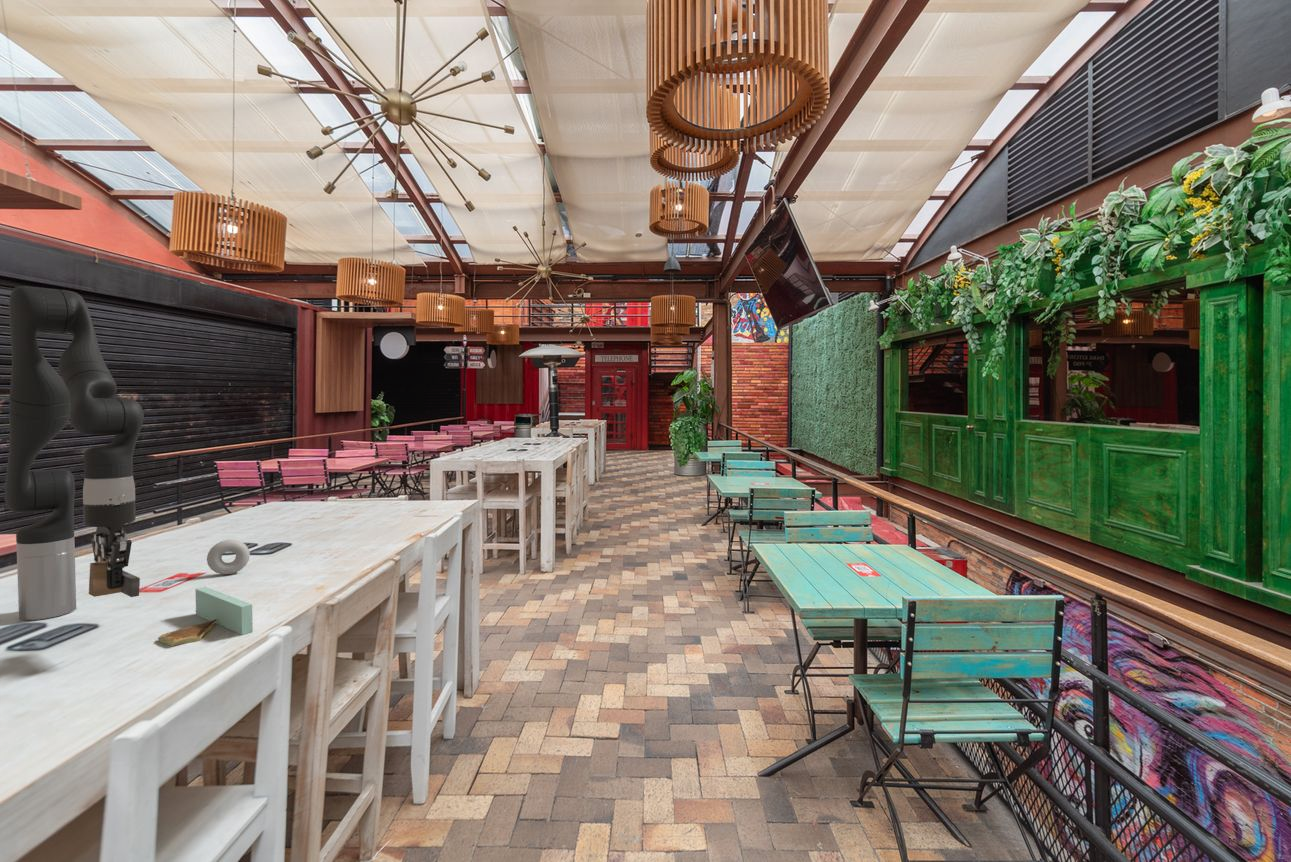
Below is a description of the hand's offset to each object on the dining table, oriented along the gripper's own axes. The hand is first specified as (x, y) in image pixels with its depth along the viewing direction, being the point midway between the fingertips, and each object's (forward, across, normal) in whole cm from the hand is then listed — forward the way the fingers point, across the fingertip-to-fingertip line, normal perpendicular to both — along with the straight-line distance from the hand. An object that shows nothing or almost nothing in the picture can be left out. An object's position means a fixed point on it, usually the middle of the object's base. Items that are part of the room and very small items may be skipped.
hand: (111, 585), depth 114 cm
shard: (+13, +4, +10) cm, 17 cm away
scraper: (+1, 0, -1) cm, 2 cm away
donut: (+13, -38, +36) cm, 54 cm away
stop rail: (+13, +3, +18) cm, 22 cm away
